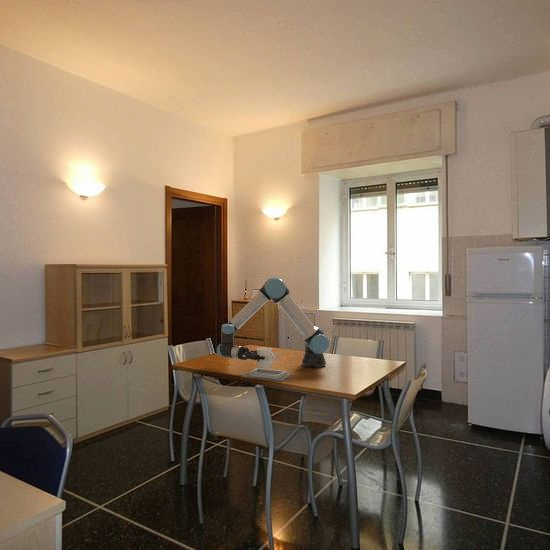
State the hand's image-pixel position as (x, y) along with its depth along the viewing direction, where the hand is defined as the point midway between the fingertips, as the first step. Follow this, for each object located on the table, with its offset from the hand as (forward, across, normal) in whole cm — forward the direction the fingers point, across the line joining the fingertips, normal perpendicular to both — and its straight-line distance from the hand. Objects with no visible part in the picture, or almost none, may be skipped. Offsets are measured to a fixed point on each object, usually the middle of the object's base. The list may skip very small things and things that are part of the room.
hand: (274, 357), depth 248 cm
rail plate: (-4, 0, -11) cm, 12 cm away
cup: (-5, 0, -6) cm, 8 cm away
